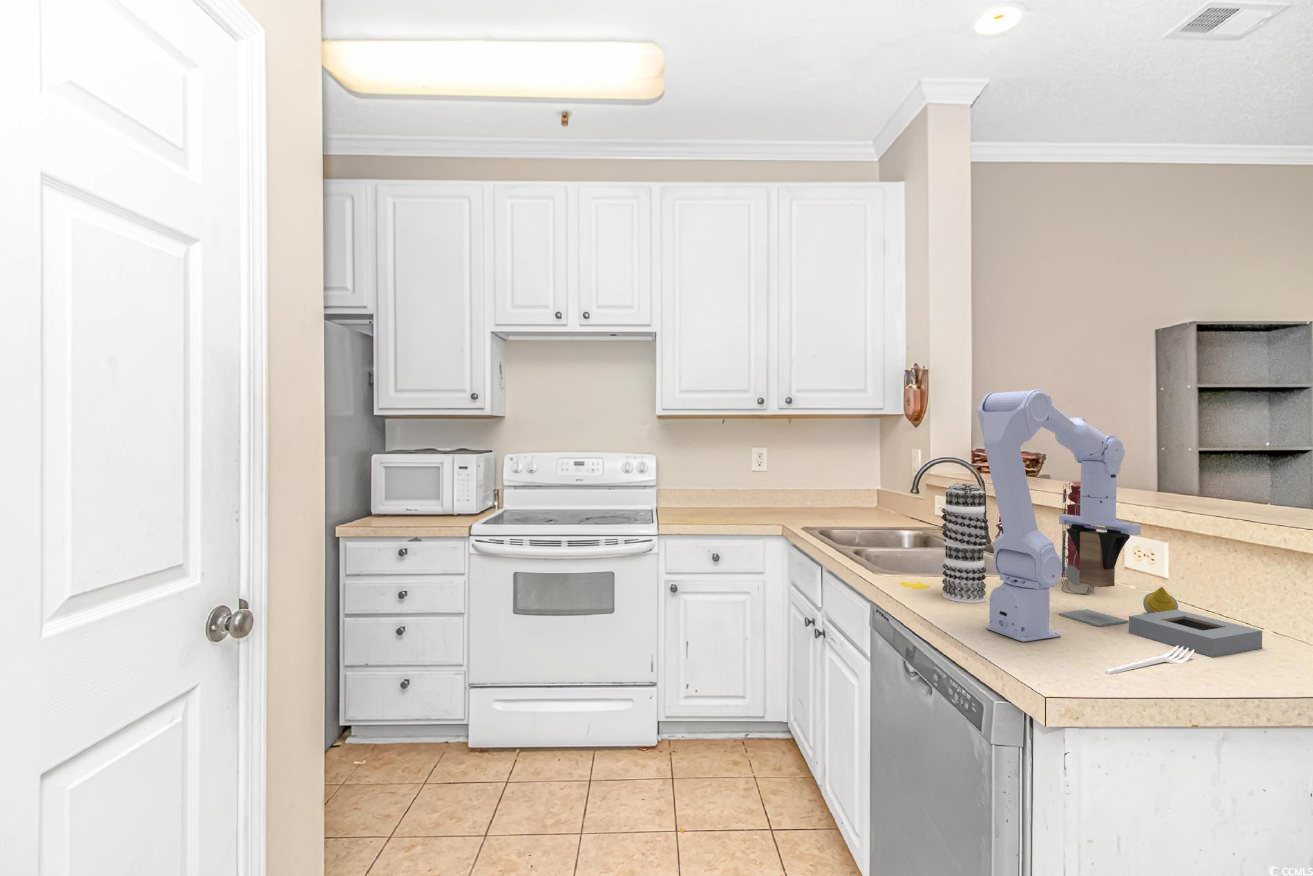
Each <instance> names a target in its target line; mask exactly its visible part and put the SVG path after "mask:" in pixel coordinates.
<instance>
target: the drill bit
mask: <svg viewBox="0 0 1313 876" xmlns="http://www.w3.org/2000/svg"><path fill="white" fill-rule="evenodd" d="M1143 608H1144V611H1146V613H1147V614H1148V613H1155V612H1162V611H1170V610H1179V603H1178V602H1177V600H1176V599H1175V598H1174V597H1173V596H1172V595H1170V594H1169V593H1168V592H1167V591H1166V589H1165V588H1164V586H1160V587H1159V588H1158V589H1156V590H1155V591H1153V592H1148V593H1147V594H1145V596H1144V598H1143Z"/></svg>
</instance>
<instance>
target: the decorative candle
mask: <svg viewBox="0 0 1313 876" xmlns="http://www.w3.org/2000/svg"><path fill="white" fill-rule="evenodd" d="M944 491H945V504H944V508H941V513H942V516H941V520H942V521H944V522H945V523H942V526H941V528H942V529H943V530H942V533H941V534H942V536H943V537H944V538H945V539H943V542H942V544H944V545H945V549H944V550H945V552H944V554H945V556H944V560H943V561H944V563H943V565H942V568H943V569H944V570H943V571H942V575H943V576H945V577H944V578H943V579H942V580H941V582H942V584H943V586H942V588H941V590H942V591H943V593H942V597H943V598H944V599H947V600H950V601H953V602H958V603H966V604H981V603H984V602H986V597H985V596H986V594H987V592H986V590H985V589H986V587H987V584H986V582H984V580H986V578H987V576H986V575H985V574H984V573H986V571H987V568H986V567H985V559H984V548H986V546H987V543H986V542H985V541H984V540H987V538H988V536H987V535H986V534H984V532H985V531H986V530H988V529H989V528H988V526H986V525H985V524H987V523H989V521H988V519H987V518H985V517H984V515H985V514H987V510H986V505H985V493H987V492H986V491H985V490H983V488H982V487H981V486H980V485H979V484H976V483H961V482H960V483H958V482H957V483H952V484H950V486H949V487H948V489H945V490H944Z"/></svg>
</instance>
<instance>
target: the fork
mask: <svg viewBox="0 0 1313 876" xmlns="http://www.w3.org/2000/svg"><path fill="white" fill-rule="evenodd" d="M1178 648H1179V649H1178ZM1183 648H1184V647H1181V648H1180V647H1179V645H1177V646H1174V647H1173V648H1172V649H1171V650H1169V651H1168V652H1167V653H1165V654H1163V655H1156V656H1153V657H1149V658H1146V659H1142V660H1138V661H1134V662H1130V663H1127V664H1122V665H1119V666H1116V667H1112V668H1108V669H1105V671H1104V674H1107V675H1110V676H1111V675H1114V674H1119V673H1122V672H1127V671H1130V670H1135V669H1138V668H1143V667H1148V666H1153V665H1156V664H1160V663H1163V662H1164V663H1169V664H1172V665H1176V664H1182V663H1187V662H1189V661H1190V659H1191V658H1192V656H1193V654H1194V653H1195V652H1194V649H1193V650H1192V651H1190V650H1189V648H1187V649H1184V651H1183ZM1177 649H1178V650H1177ZM1188 651H1190V652H1189V653H1188ZM1181 652H1182V653H1181ZM1187 653H1188V654H1187ZM1186 654H1187V655H1186ZM1185 655H1186V656H1185Z"/></svg>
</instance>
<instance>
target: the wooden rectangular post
mask: <svg viewBox="0 0 1313 876" xmlns="http://www.w3.org/2000/svg"><path fill="white" fill-rule="evenodd" d="M1099 532H1100V531H1097V530H1096V531H1087V532H1080V573H1079V583H1083V585H1088V586H1092V587H1094V588H1095V587H1096V588H1109V587H1115V585H1116V583H1115V582H1116V581H1115V573H1116V572H1115V569H1116V567H1115V568H1114V569H1109V570H1106V569H1104V567H1103V551H1102V545H1101V541H1100V538H1099V535H1098V533H1099Z"/></svg>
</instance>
